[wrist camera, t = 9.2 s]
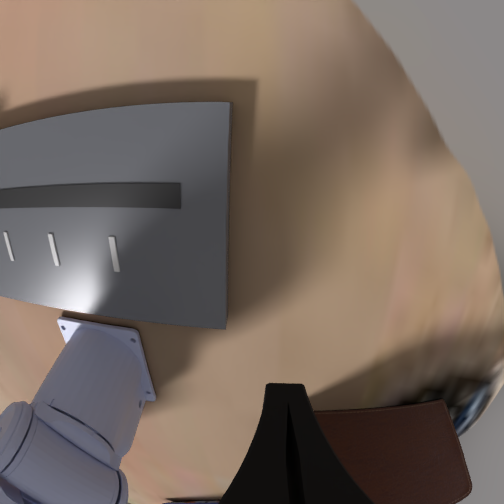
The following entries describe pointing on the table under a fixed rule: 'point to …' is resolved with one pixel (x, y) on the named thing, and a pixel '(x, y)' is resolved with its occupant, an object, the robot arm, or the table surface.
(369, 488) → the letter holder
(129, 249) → the console board
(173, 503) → the lunch box
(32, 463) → the robot arm
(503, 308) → the table surface
